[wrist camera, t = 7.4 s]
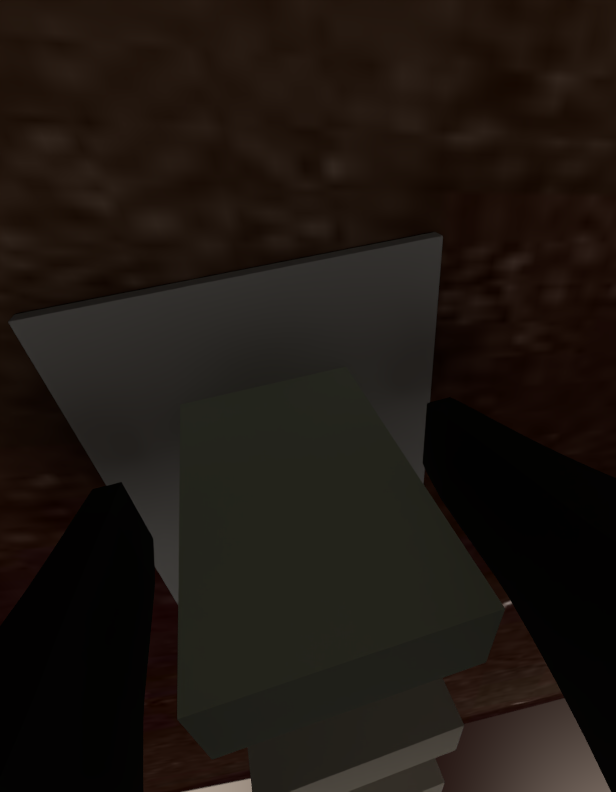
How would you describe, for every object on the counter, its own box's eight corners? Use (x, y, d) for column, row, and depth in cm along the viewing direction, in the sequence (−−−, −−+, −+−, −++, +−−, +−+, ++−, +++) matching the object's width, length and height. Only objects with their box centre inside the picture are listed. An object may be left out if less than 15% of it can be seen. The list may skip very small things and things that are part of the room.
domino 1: (180, 404, 11) (177, 719, 5) (346, 366, 11) (505, 608, 6) (198, 453, 12) (212, 758, 6) (348, 416, 12) (485, 662, 7)
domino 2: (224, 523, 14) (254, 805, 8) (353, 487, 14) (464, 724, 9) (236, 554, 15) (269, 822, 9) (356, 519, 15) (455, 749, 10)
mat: (434, 231, 10) (442, 235, 10) (405, 675, 27) (407, 682, 26) (14, 314, 9) (7, 322, 9) (255, 728, 25) (256, 736, 25)
